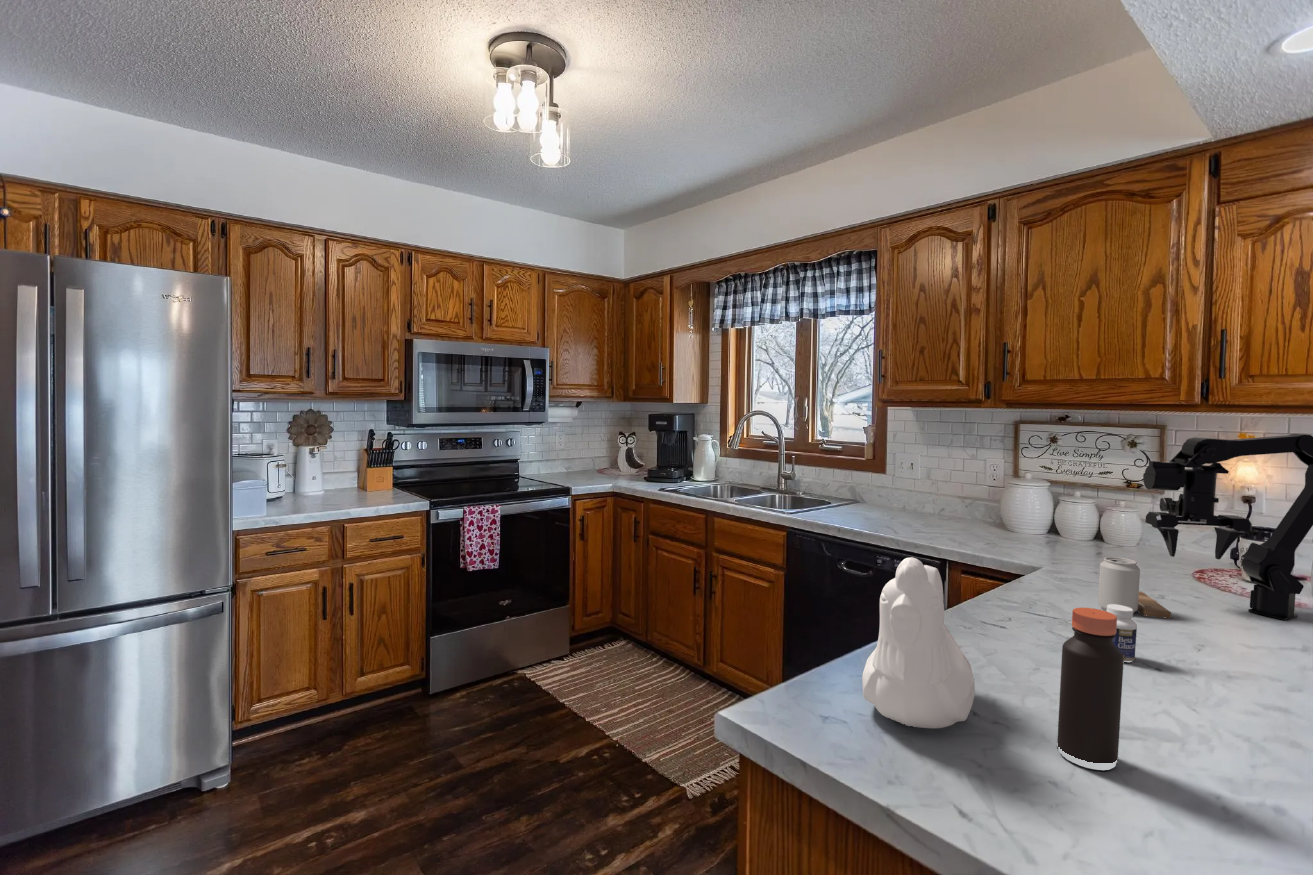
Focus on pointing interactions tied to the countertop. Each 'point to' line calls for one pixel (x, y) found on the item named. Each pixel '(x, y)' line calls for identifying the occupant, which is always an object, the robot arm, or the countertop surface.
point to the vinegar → (1091, 688)
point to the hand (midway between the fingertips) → (1194, 557)
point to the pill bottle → (1124, 630)
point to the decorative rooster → (917, 654)
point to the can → (1119, 583)
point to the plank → (1151, 607)
